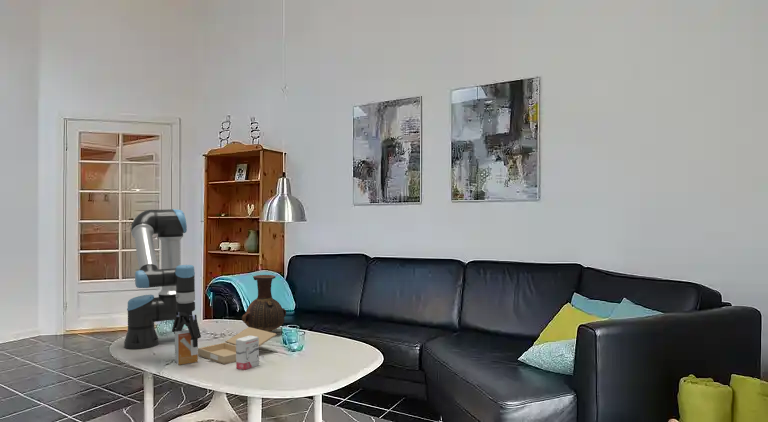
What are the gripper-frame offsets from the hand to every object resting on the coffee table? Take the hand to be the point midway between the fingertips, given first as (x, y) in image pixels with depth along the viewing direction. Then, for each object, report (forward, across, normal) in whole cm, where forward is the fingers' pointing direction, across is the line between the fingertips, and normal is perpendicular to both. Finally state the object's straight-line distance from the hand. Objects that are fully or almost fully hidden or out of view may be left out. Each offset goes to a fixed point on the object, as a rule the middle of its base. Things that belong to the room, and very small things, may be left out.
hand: (186, 352), depth 232 cm
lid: (-2, +5, +28) cm, 29 cm away
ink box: (+4, +26, +13) cm, 29 cm away
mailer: (+4, +5, +15) cm, 16 cm away
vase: (+4, -18, +52) cm, 55 cm away
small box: (+4, 0, 0) cm, 4 cm away
